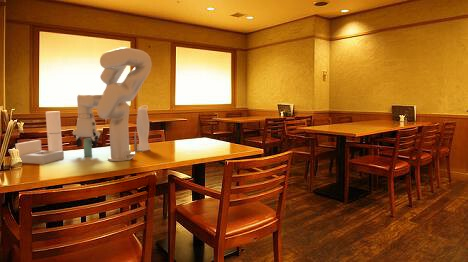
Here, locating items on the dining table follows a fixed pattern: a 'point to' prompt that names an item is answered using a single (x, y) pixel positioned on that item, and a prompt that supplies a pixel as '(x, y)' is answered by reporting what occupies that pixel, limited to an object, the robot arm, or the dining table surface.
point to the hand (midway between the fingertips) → (87, 147)
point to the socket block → (42, 156)
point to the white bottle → (142, 130)
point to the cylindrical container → (54, 131)
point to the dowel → (87, 147)
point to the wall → (28, 147)
